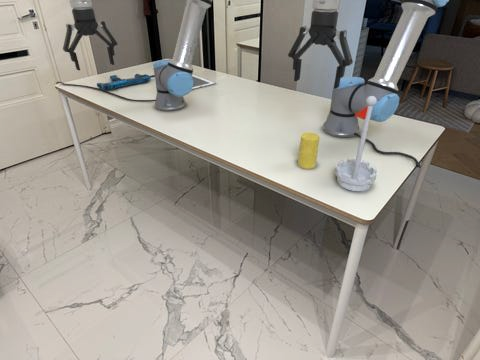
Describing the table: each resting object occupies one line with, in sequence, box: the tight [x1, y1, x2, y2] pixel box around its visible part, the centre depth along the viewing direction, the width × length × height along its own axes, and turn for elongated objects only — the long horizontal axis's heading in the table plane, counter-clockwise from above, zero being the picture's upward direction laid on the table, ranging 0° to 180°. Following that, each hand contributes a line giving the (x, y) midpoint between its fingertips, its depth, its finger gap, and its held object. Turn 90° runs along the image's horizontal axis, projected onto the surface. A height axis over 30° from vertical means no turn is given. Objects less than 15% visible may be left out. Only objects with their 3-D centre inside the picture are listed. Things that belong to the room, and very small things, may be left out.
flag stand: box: [334, 96, 378, 192], centre depth 107 cm, size 13×13×30 cm
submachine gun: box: [96, 73, 155, 91], centre depth 208 cm, size 34×4×25 cm
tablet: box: [191, 73, 216, 91], centre depth 211 cm, size 32×20×1 cm, turn 41°
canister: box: [297, 131, 320, 170], centre depth 122 cm, size 6×6×12 cm
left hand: (95, 66), depth 137 cm, fingers open, 13 cm apart
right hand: (316, 83), depth 109 cm, fingers open, 13 cm apart
